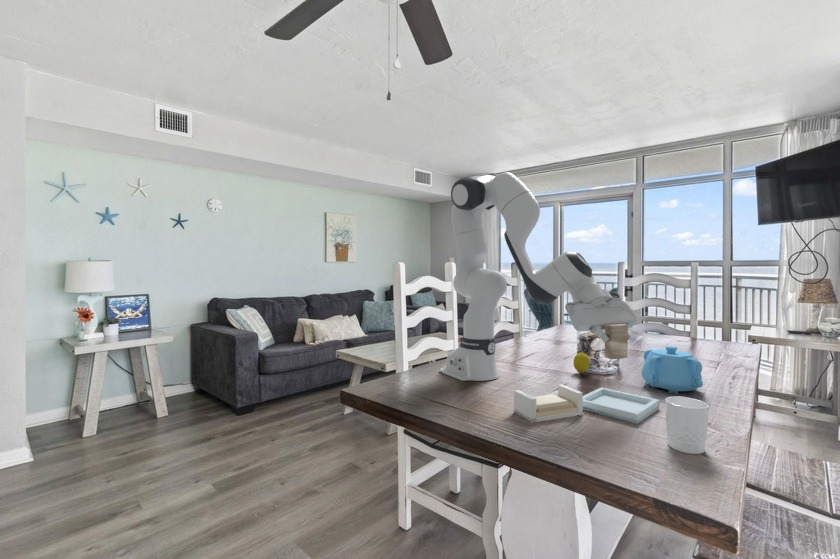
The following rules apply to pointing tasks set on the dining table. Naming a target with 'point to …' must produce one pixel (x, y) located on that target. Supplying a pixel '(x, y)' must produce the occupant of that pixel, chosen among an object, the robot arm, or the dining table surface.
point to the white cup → (686, 424)
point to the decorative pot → (672, 370)
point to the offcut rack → (549, 405)
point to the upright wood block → (616, 341)
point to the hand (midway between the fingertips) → (617, 340)
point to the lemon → (581, 362)
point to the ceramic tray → (620, 405)
